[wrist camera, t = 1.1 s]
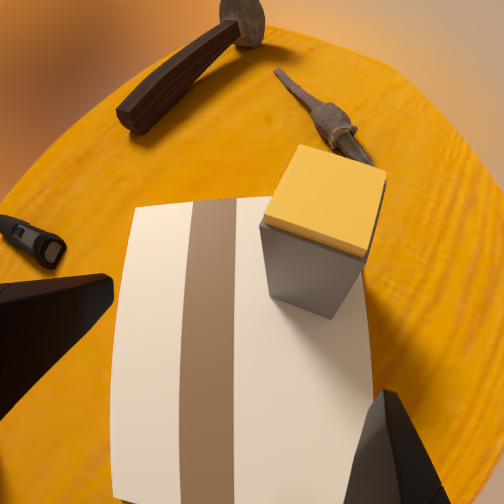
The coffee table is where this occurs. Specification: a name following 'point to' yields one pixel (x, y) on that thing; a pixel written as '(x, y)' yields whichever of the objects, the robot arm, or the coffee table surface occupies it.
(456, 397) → the coffee table surface
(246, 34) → the hammer
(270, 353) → the board
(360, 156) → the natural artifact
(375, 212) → the yellow-topped grey block
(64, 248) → the electric trimmer
